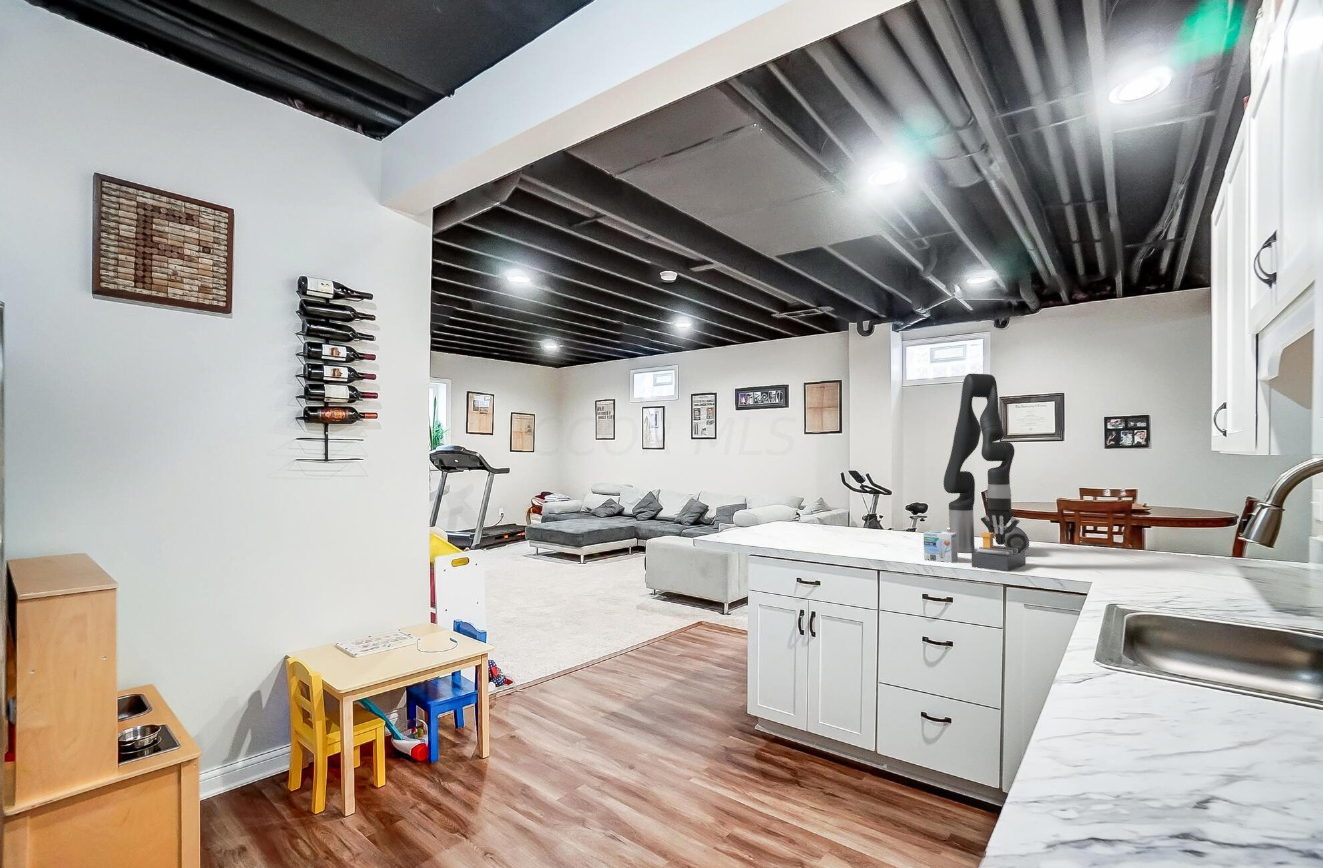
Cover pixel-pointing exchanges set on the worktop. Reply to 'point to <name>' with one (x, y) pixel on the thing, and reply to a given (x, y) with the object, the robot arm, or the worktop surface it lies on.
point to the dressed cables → (996, 551)
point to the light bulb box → (940, 546)
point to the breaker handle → (987, 539)
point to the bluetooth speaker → (1017, 539)
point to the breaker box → (999, 559)
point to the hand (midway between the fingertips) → (1000, 544)
